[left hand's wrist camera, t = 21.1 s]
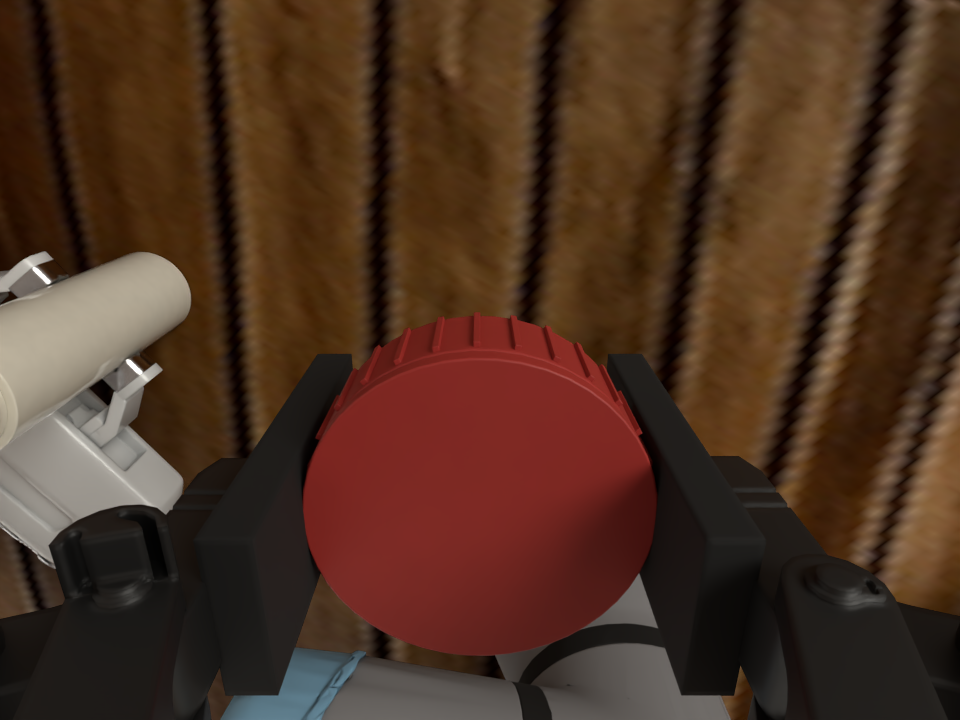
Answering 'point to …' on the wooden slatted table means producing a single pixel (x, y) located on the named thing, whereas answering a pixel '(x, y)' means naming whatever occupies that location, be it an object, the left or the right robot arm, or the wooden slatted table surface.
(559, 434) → the lid
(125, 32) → the wooden slatted table surface
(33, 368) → the white cylindrical bottle
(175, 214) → the wooden slatted table surface
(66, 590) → the left robot arm
